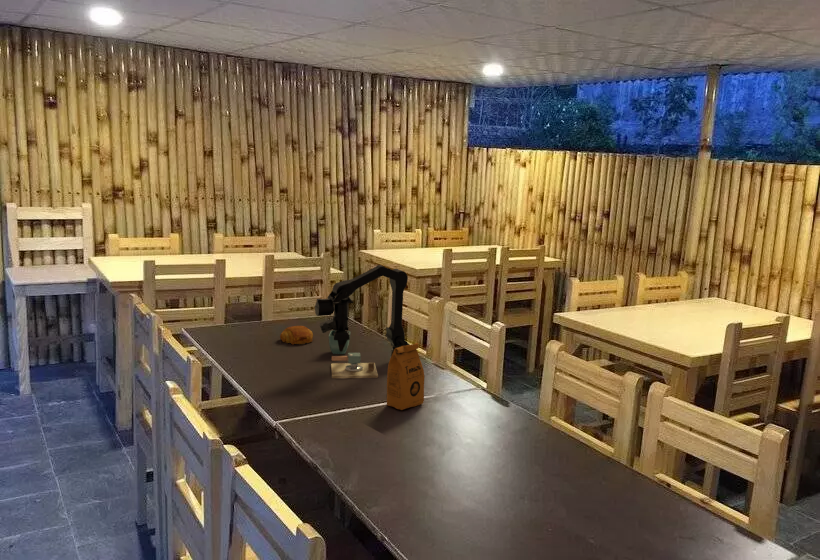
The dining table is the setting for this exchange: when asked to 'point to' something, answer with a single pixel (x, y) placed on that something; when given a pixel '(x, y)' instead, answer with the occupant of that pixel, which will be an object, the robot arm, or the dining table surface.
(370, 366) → the block
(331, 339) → the flower pot
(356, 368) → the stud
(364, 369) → the board
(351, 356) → the cap
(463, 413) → the dining table surface
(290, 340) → the croissant
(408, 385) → the coffee package
